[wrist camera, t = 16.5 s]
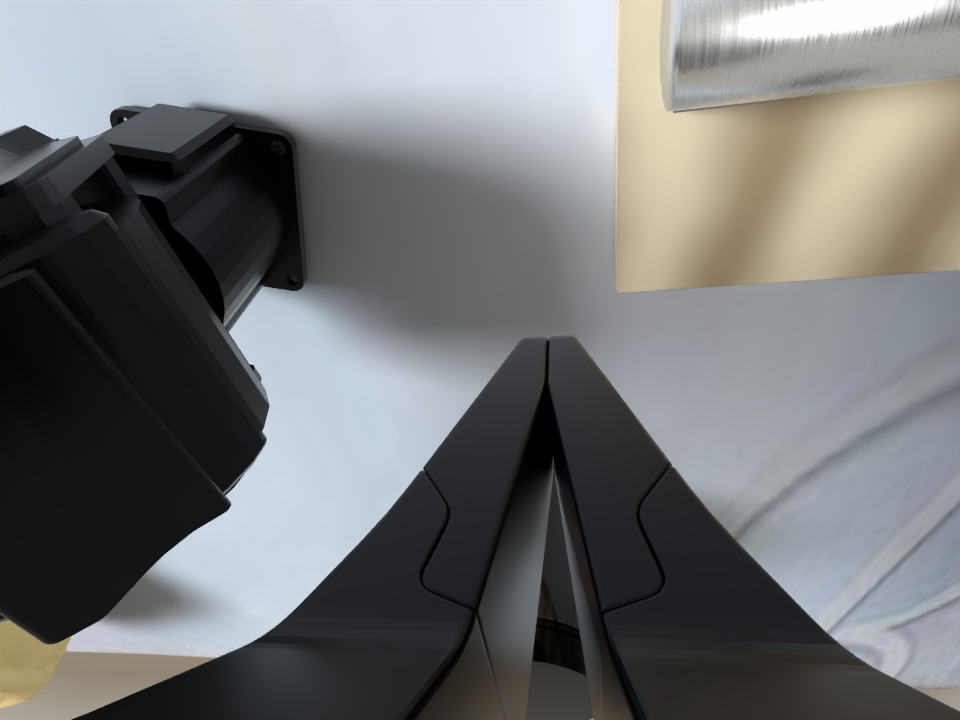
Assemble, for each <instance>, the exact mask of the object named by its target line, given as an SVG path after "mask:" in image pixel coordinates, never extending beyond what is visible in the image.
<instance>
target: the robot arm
mask: <svg viewBox="0 0 960 720" xmlns="http://www.w3.org/2000/svg"><path fill="white" fill-rule="evenodd" d="M124 117H125V118H127V119H128V120H126V121H124ZM110 122H111V126H112V128H111V129H109V130H107V131H105V132H104V133H102V134H100V135H97V136H94V137H90V138H87V139H84V140H81V141H80V139H79V138H78V136H74V137H71V138H67V139H63V140H59V139H58V138H57V139H52V138H50V137H48V136H46V135H44V134H42V133H40V132H38V131H36V130H34V129H32V128H30V127H28V126H26V125H24V126H21V127H18V128H14V129H11V130H8V131H6V132H3V133H1V134H0V622H4V621H7V620H9V621H11V622H12V623H14V624H15V625H17V626H18V627H20V628H21V629H23V630H24V631H26V632H27V633H29V634H30V635H32V636H33V637H35V638H36V639H38V640H39V641H41V642H42V643H44V644H47V645H48V644H56V643H59V642H61V641H63V640H65V639H67V638H69V637H70V636H72V635H74V634H76V633H78V632H80V631H81V630H83V629H85V628H87V627H89V626H91V625H92V624H94V623H96V622H98V621H99V620H101V619H102V618H104V617H105V616H106V615H107V614H108V613H109V612H110V611H111V610H112V609H113V608H114V606H115V605H116V604H117V603H118V602H119V601H120V600H121V599H122V598H123V597H124V596H125V595H126V593H127V592H128V591H129V590H130V589H131V588H132V587H133V586H134V585H135V584H136V583H137V582H138V580H139V579H140V578H141V577H142V576H143V575H144V574H145V573H146V572H147V571H148V570H149V569H150V568H151V567H152V566H153V565H154V564H155V563H156V562H157V561H158V560H159V559H160V558H161V557H162V556H163V555H164V554H166V553H167V552H168V551H169V550H171V549H172V548H173V547H174V546H176V545H177V544H178V543H179V542H181V541H182V540H183V539H184V538H186V537H187V536H188V535H189V534H191V533H192V532H193V531H195V530H196V529H198V528H200V527H201V526H203V525H205V524H206V523H208V522H210V521H211V520H213V519H215V518H216V517H218V516H220V515H221V514H223V513H225V512H226V511H227V510H228V509H229V508H230V506H231V502H230V501H229V500H228V498H227V497H226V496H225V495H226V494H228V493H229V492H230V491H231V490H232V489H233V488H234V487H235V485H236V484H237V483H238V482H239V480H240V479H241V478H242V476H243V475H244V474H245V472H246V471H247V470H248V469H249V468H250V467H251V466H252V465H253V463H254V462H255V460H256V459H257V457H258V456H259V454H260V452H261V451H262V449H263V447H264V445H265V443H266V440H267V439H266V436H265V435H264V434H263V432H262V430H263V428H264V425H265V421H266V417H267V413H268V410H269V402H268V398H267V394H266V390H265V388H264V387H263V385H262V384H261V376H260V374H259V373H258V371H257V370H256V368H255V367H254V365H249V363H248V361H247V360H246V358H245V357H244V355H243V354H242V352H241V351H240V349H239V348H238V346H237V345H236V343H235V342H234V340H233V339H232V337H231V336H230V334H229V333H228V332H229V331H230V330H231V328H232V327H233V326H234V324H235V323H236V322H237V320H238V319H239V317H240V316H241V315H242V313H243V312H244V311H245V309H246V308H247V307H248V305H249V304H250V303H251V301H252V300H253V298H254V297H255V296H256V294H257V293H258V292H259V290H260V289H261V288H262V286H265V287H272V288H278V289H285V290H291V291H298V290H300V289H301V288H302V287H303V286H304V284H305V282H306V280H307V273H306V261H305V249H304V236H303V224H302V211H301V199H300V186H299V174H298V161H297V149H296V143H295V140H294V139H293V137H292V136H291V135H290V134H288V133H287V132H285V131H282V130H277V129H271V128H265V127H258V126H252V125H246V124H239V123H235V121H234V120H233V119H232V118H231V117H229V116H228V115H227V114H222V113H216V112H210V111H203V110H197V109H191V108H184V107H178V106H171V105H165V104H157V105H155V106H153V107H151V108H149V109H144V108H137V107H131V106H121V107H119V108H117V109H115V110H114V111H112V112H111V115H110ZM276 141H280V142H282V143H283V144H284V146H285V149H286V150H285V151H281V150H279V149H278V148H277V146H276V144H275V142H276ZM289 275H292V276H294V277H296V278H297V280H298V281H294V280H292V279H291V278H290V276H289ZM553 458H554V469H555V477H556V485H557V491H558V498H559V504H560V510H561V516H562V523H563V529H564V535H565V542H566V548H567V554H568V560H569V567H570V573H571V579H572V586H573V592H574V598H575V605H576V611H577V617H578V623H579V630H580V636H581V642H582V649H583V655H584V661H585V667H586V674H587V680H588V686H589V693H590V699H591V705H592V711H593V718H594V720H960V711H958V710H956V709H954V708H951V707H950V706H948V705H946V704H944V703H942V702H940V701H938V700H936V699H934V698H932V697H930V696H928V695H926V694H924V693H922V692H920V691H918V690H916V689H914V688H912V687H910V686H908V685H906V684H904V683H902V682H900V681H898V680H896V679H894V678H892V677H890V676H888V675H886V674H884V673H882V672H881V671H879V670H877V669H875V668H873V667H872V666H870V665H868V664H867V663H865V662H864V661H862V660H861V659H859V658H858V657H856V656H855V655H854V654H852V653H851V652H850V651H848V650H847V649H846V648H844V647H843V646H842V645H840V644H839V643H838V642H837V641H836V640H835V639H833V638H832V637H831V636H830V635H829V634H828V633H826V632H825V631H824V630H823V629H822V628H821V627H820V626H819V625H818V624H817V623H816V622H815V621H814V620H813V619H812V618H811V617H810V616H809V615H808V614H807V613H806V612H805V611H804V610H803V609H802V608H801V607H800V606H799V605H798V604H797V603H796V602H795V601H794V600H793V599H792V598H791V596H790V595H789V594H788V593H787V592H786V591H785V590H784V589H783V588H782V587H781V586H780V585H779V584H778V583H777V582H776V581H775V580H774V579H773V578H772V577H771V576H770V575H769V574H768V573H767V572H766V571H765V570H764V569H763V568H762V567H761V566H760V565H759V564H758V563H757V562H756V561H755V560H754V559H753V558H752V557H751V556H750V554H749V553H748V552H747V551H746V550H745V549H744V548H743V547H742V546H741V545H740V544H739V543H738V542H737V541H736V540H735V539H734V538H733V537H732V536H731V535H730V534H729V532H728V531H727V530H726V529H725V528H724V527H723V526H722V525H721V524H720V523H719V522H718V521H717V520H716V518H715V517H714V516H713V515H712V514H711V513H710V512H709V511H708V509H707V508H706V507H705V506H704V504H703V503H702V502H701V501H700V500H699V498H698V497H697V496H696V495H695V493H694V492H693V491H692V490H691V488H690V487H689V486H688V485H687V483H686V482H685V481H684V479H683V478H682V477H681V475H680V474H679V473H678V471H677V470H676V469H675V468H674V467H672V464H671V463H670V461H669V460H668V459H667V457H666V456H665V455H664V453H663V452H662V451H661V449H660V448H659V447H658V445H657V444H656V443H655V441H654V440H653V439H652V437H651V436H650V435H649V433H648V432H647V431H646V430H645V428H644V427H643V426H642V424H641V423H640V422H639V420H638V419H637V418H636V416H635V415H634V414H633V412H632V411H631V410H630V408H629V407H628V406H627V404H626V403H625V402H624V400H623V399H622V398H621V396H620V395H619V394H618V392H617V391H616V390H615V389H614V387H613V386H612V385H611V383H610V382H609V381H608V379H607V378H606V377H605V375H604V374H603V373H602V371H601V370H600V369H599V367H598V366H597V365H596V363H595V362H594V361H593V359H592V358H591V357H590V355H589V354H588V353H587V352H586V350H585V349H584V348H583V346H582V345H581V344H580V342H579V341H578V340H577V338H576V337H574V336H554V337H551V338H550V339H549V341H548V339H547V338H545V337H534V338H523V339H522V340H521V341H520V342H519V343H518V345H517V346H516V347H515V348H514V350H513V351H512V352H511V354H510V355H509V356H508V358H507V359H506V360H505V362H504V363H503V364H502V365H501V367H500V368H499V369H498V371H497V372H496V373H495V375H494V376H493V377H492V379H491V380H490V381H489V382H488V384H487V385H486V386H485V388H484V389H483V390H482V392H481V393H480V394H479V396H478V397H477V398H476V399H475V401H474V402H473V403H472V405H471V406H470V407H469V409H468V410H467V411H466V412H465V414H464V415H463V416H462V418H461V419H460V420H459V422H458V423H457V424H456V426H455V427H454V428H453V429H452V431H451V432H450V433H449V435H448V436H447V437H446V439H445V440H444V441H443V443H442V444H441V445H440V446H439V448H438V449H437V450H436V452H435V453H434V454H433V456H432V457H431V458H430V460H429V461H428V462H427V463H426V465H425V466H424V468H423V471H420V472H419V474H418V475H417V476H416V477H415V479H414V480H413V481H412V483H411V484H410V485H409V487H408V488H407V489H406V490H405V492H404V493H403V494H402V495H401V496H400V498H399V499H398V500H397V501H396V503H395V504H394V505H393V506H392V508H391V509H390V510H389V511H388V512H387V514H386V515H385V516H384V517H383V518H382V519H381V520H380V521H379V522H378V523H377V524H376V526H375V527H374V528H373V529H372V530H371V531H370V532H369V533H368V534H367V535H366V536H365V538H364V539H363V540H362V541H361V542H360V543H359V544H358V545H357V546H356V547H355V548H354V549H353V550H352V551H351V552H350V553H349V554H348V555H347V556H346V557H345V558H344V559H343V561H342V562H341V563H340V564H339V565H338V566H337V567H336V568H335V569H334V570H333V571H332V572H331V573H330V574H329V575H328V576H327V577H326V578H325V579H324V580H323V581H322V582H321V583H320V584H319V585H318V586H317V587H316V589H315V590H314V591H313V592H312V593H311V594H310V595H309V596H308V597H307V598H306V599H305V600H304V601H303V602H302V603H301V604H300V605H299V606H298V607H297V608H296V609H295V610H294V611H293V612H292V613H291V614H290V615H289V616H288V617H286V618H285V619H284V620H283V621H282V622H280V623H279V624H278V625H277V626H276V627H274V628H273V629H272V630H270V631H269V632H267V633H266V634H265V635H263V636H262V637H260V638H258V639H257V640H255V641H253V642H251V643H250V644H247V645H245V646H243V647H241V648H239V649H237V650H234V651H232V652H230V653H227V654H225V655H223V656H220V657H218V658H216V659H213V660H211V661H209V662H206V663H204V664H202V665H199V666H197V667H195V668H192V669H190V670H188V671H185V672H183V673H181V674H178V675H176V676H174V677H171V678H169V679H167V680H164V681H162V682H160V683H157V684H155V685H153V686H150V687H148V688H146V689H143V690H141V691H139V692H136V693H134V694H132V695H129V696H127V697H125V698H122V699H120V700H118V701H115V702H113V703H111V704H108V705H106V706H104V707H102V708H99V709H97V710H95V711H92V712H90V713H87V714H85V715H82V716H79V717H77V718H74V719H72V720H525V718H526V709H527V700H528V691H529V682H530V674H531V665H532V656H533V647H534V638H535V630H536V621H537V612H538V603H539V594H540V586H541V577H542V568H543V559H544V550H545V542H546V533H547V524H548V515H549V506H550V498H551V489H552V479H553Z"/></svg>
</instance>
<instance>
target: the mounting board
mask: <svg viewBox="0 0 960 720" xmlns="http://www.w3.org/2000/svg"><path fill="white" fill-rule="evenodd" d="M662 3H663V0H616V163H615V284H616V290H617V293H625V292H640V291H655V290H670V289H685V288H700V287H715V286H730V285H745V284H760V283H775V282H790V281H805V280H820V279H835V278H850V277H865V276H880V275H895V274H910V273H925V272H940V271H955V270H960V79H951V80H942V81H933V82H925V83H916V84H907V85H898V86H890V87H881V88H872V89H863V90H855V91H846V92H837V93H828V94H820V95H811V96H802V97H793V98H785V99H782V100H781V101H776V102H767V103H758V104H749V105H741V106H732V107H723V108H714V109H705V110H697V111H688V112H679V113H673V111H671V112H668V111H666V109H665V107H664V103H663V98H662V92H661V82H660V24H661V12H662Z"/></svg>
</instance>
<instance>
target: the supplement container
mask: <svg viewBox="0 0 960 720" xmlns="http://www.w3.org/2000/svg"><path fill="white" fill-rule="evenodd" d="M592 718H593V711H592V705H591V699H590V693H589V686H588V680H587V674H586V667H585V661H584V655H583V649H582V642H581V636H580V630H579V623H578V617H577V611H576V605H575V598H574V592H573V586H572V579H571V573H570V567H569V560H568V554H567V548H566V542H565V535H564V529H563V523H562V516H561V510H560V504H559V498H558V491H557V485H556V477H555V469H554V465H553V479H552V489H551V498H550V506H549V515H548V524H547V533H546V542H545V550H544V559H543V568H542V577H541V586H540V594H539V603H538V612H537V621H536V630H535V638H534V647H533V656H532V665H531V674H530V682H529V691H528V700H527V709H526V718H525V720H590V719H592Z"/></svg>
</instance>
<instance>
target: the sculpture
mask: <svg viewBox="0 0 960 720" xmlns="http://www.w3.org/2000/svg"><path fill="white" fill-rule="evenodd" d="M70 639H71V636H70V637H69V638H67V639H65V640H63V641H61V642H59V643H56V644H48V645H47V644H44V643H42V642H41V641H39V640H38V639H36V638H35V637H33V636H32V635H30V634H29V633H27V632H26V631H24V630H23V629H21V628H20V627H18V626H17V625H15V624H14V623H12V622H11V621H9V620H7V621H4V622H0V709H1V708H3V707H8V706H12V705H16V704H19V703H22V702H25V701H27V700H29V699H31V698H32V697H34V696H35V695H36V694H37V693H38V692H39V691H40V690H42V689H43V688H44V687H45V686H46V685H47V684H48V682H49V680H50V678H51V676H52V674H53V672H54V670H55V668H56V666H57V664H58V662H59V661H60V659H61V658H62V657H63V656H64V654H65V652H66V646H67V644H68V643H69V641H70Z"/></svg>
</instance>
